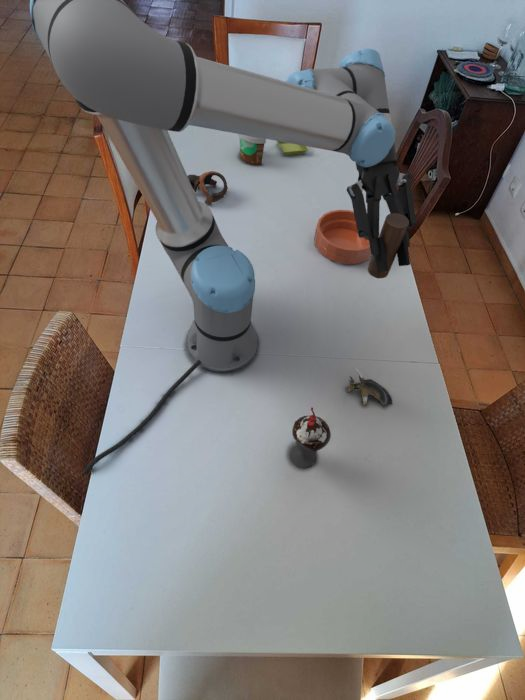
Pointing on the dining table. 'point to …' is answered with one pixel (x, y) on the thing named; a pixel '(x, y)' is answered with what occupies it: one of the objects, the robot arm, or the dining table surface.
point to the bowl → (341, 238)
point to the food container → (251, 149)
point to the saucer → (292, 148)
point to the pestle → (390, 241)
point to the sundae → (308, 439)
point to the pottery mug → (206, 180)
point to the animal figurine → (370, 390)
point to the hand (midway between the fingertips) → (393, 267)
